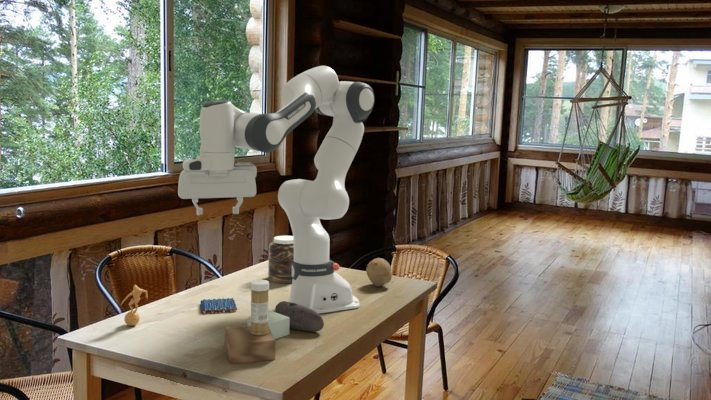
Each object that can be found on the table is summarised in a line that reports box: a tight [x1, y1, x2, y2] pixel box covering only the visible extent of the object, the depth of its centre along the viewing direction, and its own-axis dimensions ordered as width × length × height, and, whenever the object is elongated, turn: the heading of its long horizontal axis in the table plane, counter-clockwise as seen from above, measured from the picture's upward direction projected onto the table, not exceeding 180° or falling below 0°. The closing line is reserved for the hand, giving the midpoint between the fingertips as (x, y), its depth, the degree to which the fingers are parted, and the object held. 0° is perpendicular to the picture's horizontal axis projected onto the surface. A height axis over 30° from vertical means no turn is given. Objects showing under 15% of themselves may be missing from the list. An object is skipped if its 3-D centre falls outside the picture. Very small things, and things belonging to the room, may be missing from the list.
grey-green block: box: [247, 309, 290, 340], centre depth 172 cm, size 8×8×5 cm
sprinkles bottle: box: [250, 279, 270, 336], centre depth 158 cm, size 5×5×14 cm
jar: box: [267, 235, 294, 284], centre depth 225 cm, size 12×12×15 cm
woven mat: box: [200, 297, 238, 315], centre depth 193 cm, size 10×11×2 cm
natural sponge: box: [365, 257, 393, 288], centre depth 220 cm, size 9×9×10 cm
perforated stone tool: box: [274, 300, 325, 333], centre depth 177 cm, size 15×5×7 cm, turn 61°
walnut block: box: [224, 325, 276, 365], centre depth 159 cm, size 11×11×5 cm
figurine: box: [120, 284, 149, 327], centre depth 174 cm, size 8×6×12 cm
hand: (217, 214), depth 168 cm, fingers open, 8 cm apart
